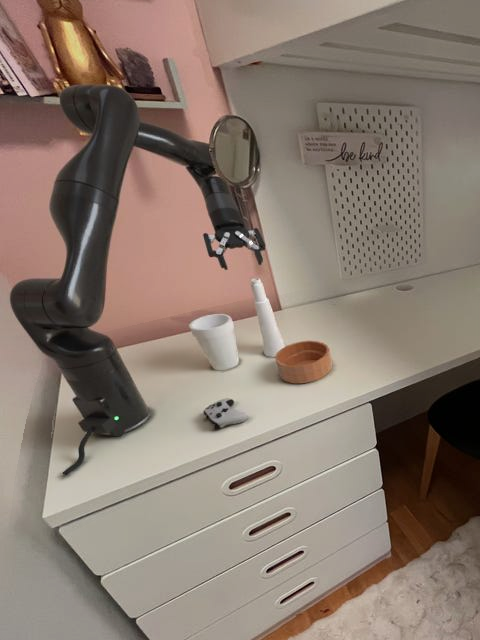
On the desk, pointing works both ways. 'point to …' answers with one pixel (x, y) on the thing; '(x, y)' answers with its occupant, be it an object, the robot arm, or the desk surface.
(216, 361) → the foam cup
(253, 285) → the cosmetic bottle
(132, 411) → the robot arm
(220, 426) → the game controller
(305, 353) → the bowl
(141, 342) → the desk surface
